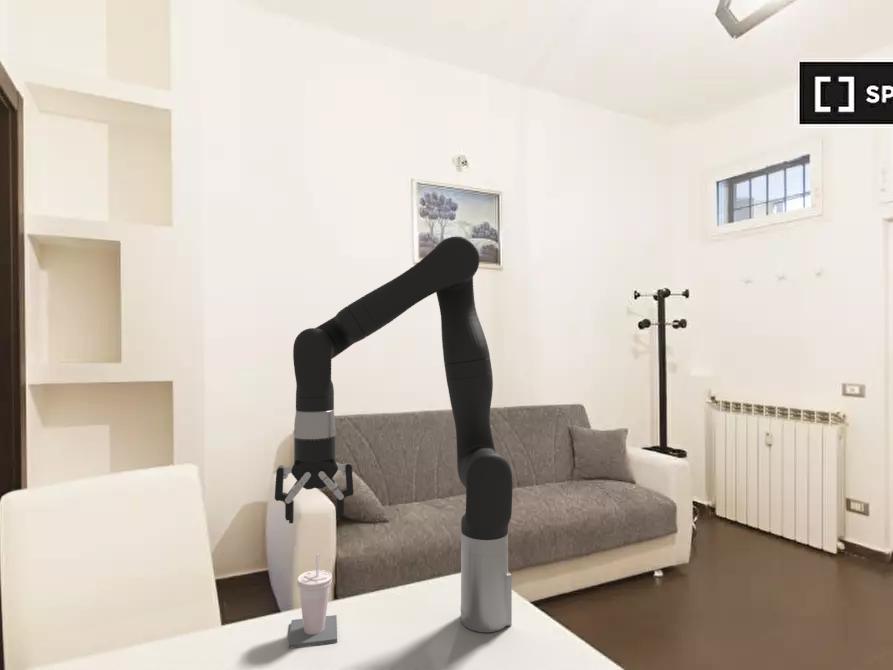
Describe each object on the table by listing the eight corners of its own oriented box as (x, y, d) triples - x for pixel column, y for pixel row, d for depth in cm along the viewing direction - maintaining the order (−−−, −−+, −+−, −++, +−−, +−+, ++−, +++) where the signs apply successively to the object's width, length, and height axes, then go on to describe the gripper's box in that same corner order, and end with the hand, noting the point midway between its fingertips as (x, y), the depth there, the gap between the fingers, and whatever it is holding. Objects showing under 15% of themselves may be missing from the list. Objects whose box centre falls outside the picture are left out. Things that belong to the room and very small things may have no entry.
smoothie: (322, 640, 92) (323, 561, 93) (290, 636, 93) (290, 558, 94) (337, 621, 99) (337, 548, 99) (306, 618, 100) (306, 545, 100)
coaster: (336, 618, 101) (336, 614, 101) (337, 642, 93) (337, 638, 93) (291, 623, 99) (291, 620, 99) (288, 648, 91) (288, 644, 91)
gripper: (352, 429, 102) (352, 511, 102) (277, 432, 99) (277, 516, 99) (354, 435, 95) (354, 523, 95) (273, 439, 92) (273, 530, 91)
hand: (314, 520), depth 97 cm, fingers open, 8 cm apart
